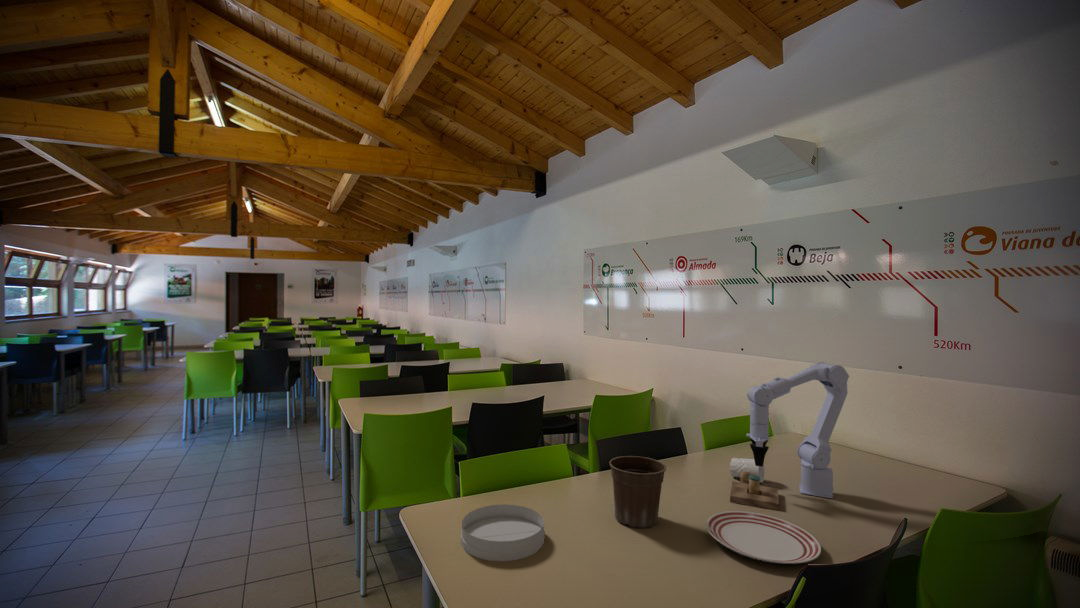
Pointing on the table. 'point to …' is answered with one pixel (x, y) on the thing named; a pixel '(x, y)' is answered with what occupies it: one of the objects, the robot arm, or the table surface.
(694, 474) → the table surface
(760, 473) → the white cup
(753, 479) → the long dowel
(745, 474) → the short dowel
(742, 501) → the wooden board with hole
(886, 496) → the table surface
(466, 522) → the dish
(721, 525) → the dinner plate
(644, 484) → the plant pot
